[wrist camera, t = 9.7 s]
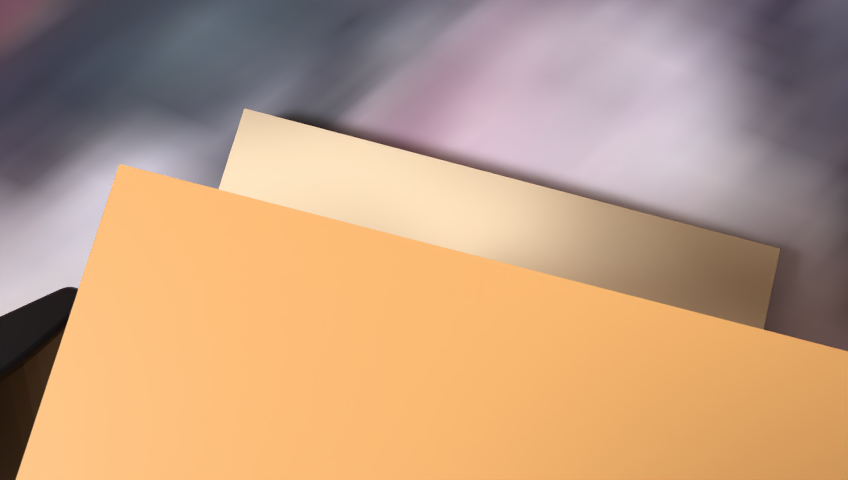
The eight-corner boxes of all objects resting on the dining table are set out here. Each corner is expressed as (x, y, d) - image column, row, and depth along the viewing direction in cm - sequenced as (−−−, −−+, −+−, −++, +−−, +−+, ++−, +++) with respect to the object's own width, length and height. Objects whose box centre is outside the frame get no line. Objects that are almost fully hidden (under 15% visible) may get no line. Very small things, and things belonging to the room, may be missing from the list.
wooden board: (641, 817, 16) (655, 849, 15) (88, 647, 16) (66, 666, 15) (760, 254, 17) (780, 248, 16) (255, 122, 18) (244, 108, 17)
